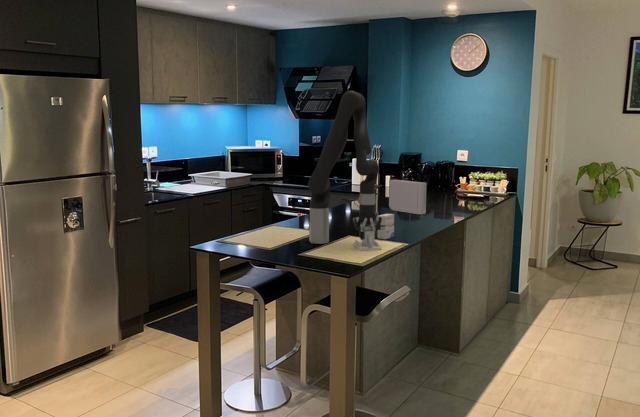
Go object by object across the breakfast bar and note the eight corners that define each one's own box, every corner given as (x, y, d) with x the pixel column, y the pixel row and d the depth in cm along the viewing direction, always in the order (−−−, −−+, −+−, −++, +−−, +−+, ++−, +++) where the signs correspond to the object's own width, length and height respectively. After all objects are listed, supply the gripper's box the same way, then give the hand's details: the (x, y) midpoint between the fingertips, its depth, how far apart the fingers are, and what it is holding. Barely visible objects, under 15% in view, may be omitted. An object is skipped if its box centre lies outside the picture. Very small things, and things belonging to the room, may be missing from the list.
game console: (419, 214, 361) (420, 183, 358) (388, 209, 382) (389, 180, 379) (425, 213, 364) (426, 182, 361) (394, 208, 385) (395, 179, 382)
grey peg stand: (359, 250, 260) (360, 237, 259) (353, 244, 274) (353, 232, 273) (381, 249, 262) (381, 237, 261) (373, 243, 275) (373, 231, 274)
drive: (365, 243, 263) (365, 230, 262) (360, 239, 271) (360, 226, 271) (374, 242, 263) (374, 229, 263) (369, 238, 272) (369, 226, 271)
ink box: (386, 235, 295) (386, 213, 293) (394, 236, 291) (394, 214, 290) (377, 238, 288) (377, 215, 286) (385, 239, 285) (385, 216, 283)
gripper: (354, 204, 260) (354, 241, 262) (384, 203, 262) (384, 240, 265) (350, 202, 267) (350, 238, 270) (380, 201, 270) (379, 236, 272)
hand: (367, 238), depth 267 cm, fingers closed on drive, 4 cm apart
